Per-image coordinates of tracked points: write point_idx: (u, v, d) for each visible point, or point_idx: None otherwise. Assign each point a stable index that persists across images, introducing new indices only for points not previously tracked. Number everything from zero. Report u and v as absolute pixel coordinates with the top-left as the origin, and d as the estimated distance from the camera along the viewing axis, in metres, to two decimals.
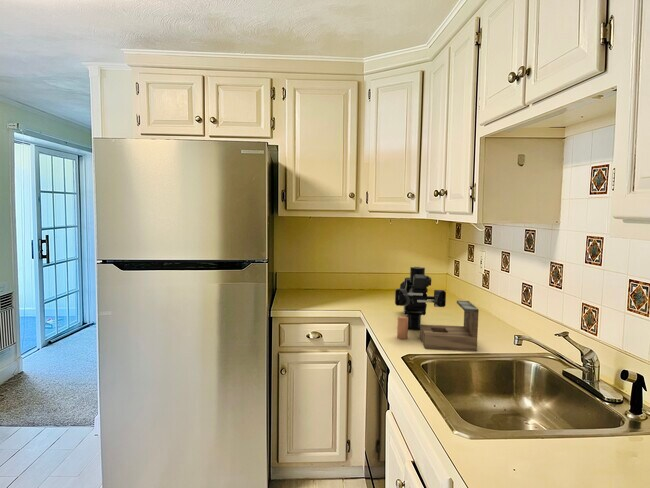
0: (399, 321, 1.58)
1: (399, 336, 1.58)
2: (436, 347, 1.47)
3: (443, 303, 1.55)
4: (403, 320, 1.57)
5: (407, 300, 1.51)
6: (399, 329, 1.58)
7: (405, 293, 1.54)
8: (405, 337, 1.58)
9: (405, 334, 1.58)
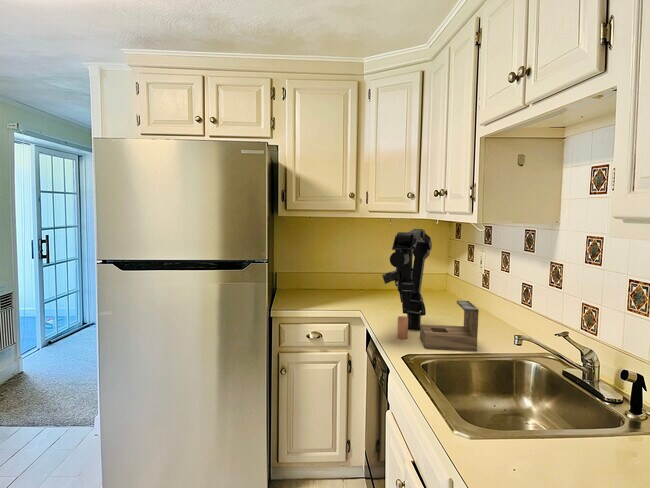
0: (399, 321, 1.58)
1: (399, 336, 1.58)
2: (436, 347, 1.47)
3: None
4: (403, 320, 1.57)
5: None
6: (399, 329, 1.58)
7: None
8: (405, 337, 1.58)
9: (405, 334, 1.58)
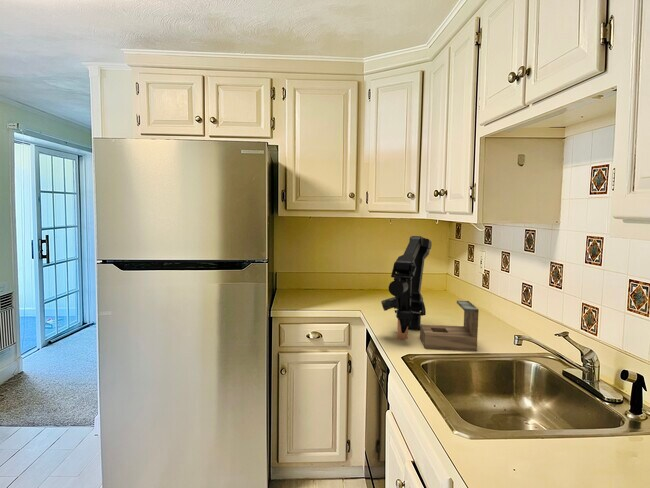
0: (399, 321, 1.58)
1: (399, 336, 1.58)
2: (436, 347, 1.47)
3: None
4: None
5: None
6: (399, 329, 1.58)
7: None
8: (405, 337, 1.58)
9: (405, 334, 1.58)
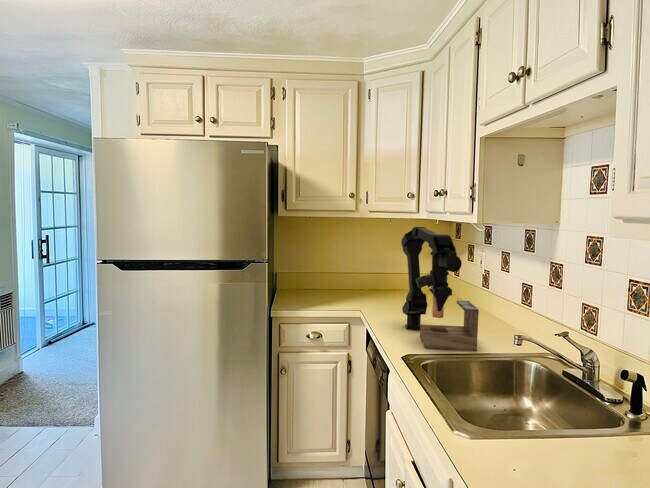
0: (435, 299, 1.51)
1: (435, 315, 1.52)
2: (436, 347, 1.47)
3: None
4: None
5: None
6: (435, 307, 1.51)
7: (432, 292, 1.56)
8: (441, 316, 1.51)
9: (441, 312, 1.51)
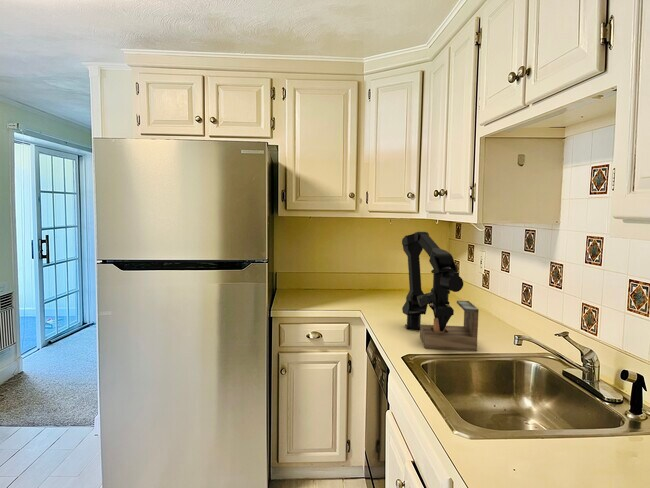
0: (435, 323, 1.52)
1: None
2: (436, 347, 1.47)
3: None
4: None
5: None
6: (435, 331, 1.52)
7: (432, 309, 1.58)
8: None
9: None
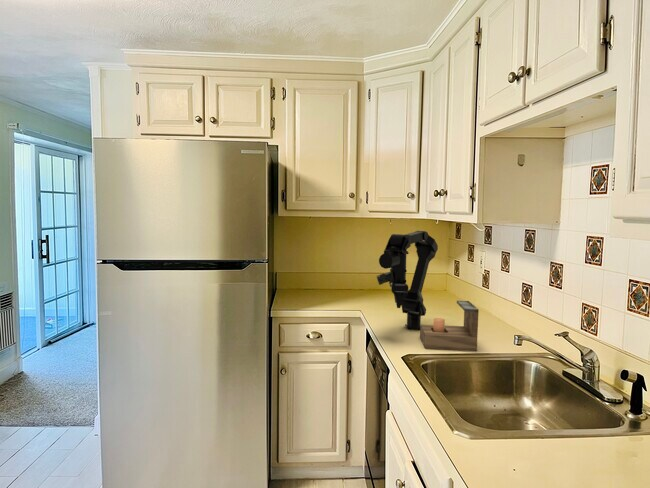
0: (435, 323, 1.52)
1: None
2: (436, 347, 1.47)
3: None
4: (440, 322, 1.51)
5: None
6: (435, 331, 1.52)
7: None
8: None
9: None
